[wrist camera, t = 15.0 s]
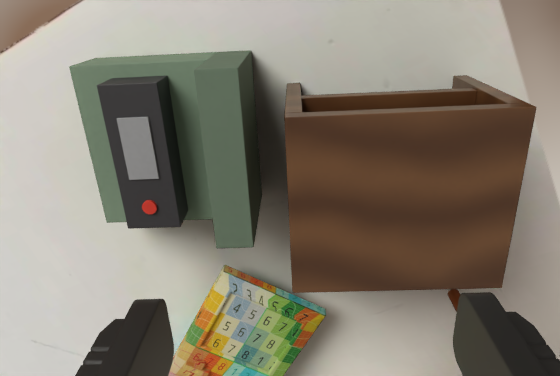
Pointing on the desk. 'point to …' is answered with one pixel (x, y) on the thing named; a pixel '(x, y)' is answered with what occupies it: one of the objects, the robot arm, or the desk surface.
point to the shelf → (404, 187)
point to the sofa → (189, 135)
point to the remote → (144, 150)
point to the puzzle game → (246, 329)
